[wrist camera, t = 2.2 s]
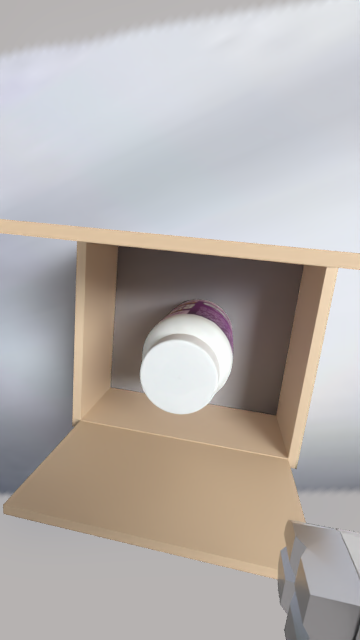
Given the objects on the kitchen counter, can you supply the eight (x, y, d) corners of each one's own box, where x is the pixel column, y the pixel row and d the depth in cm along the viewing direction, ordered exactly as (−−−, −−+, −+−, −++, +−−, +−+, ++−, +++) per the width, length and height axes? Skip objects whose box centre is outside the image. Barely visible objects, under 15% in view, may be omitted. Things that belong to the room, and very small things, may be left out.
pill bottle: (189, 284, 24) (162, 302, 15) (246, 323, 24) (256, 366, 14) (153, 339, 25) (107, 388, 16) (206, 376, 25) (192, 447, 16)
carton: (314, 257, 22) (424, 257, 9) (282, 423, 25) (334, 594, 12) (111, 237, 24) (-20, 215, 11) (103, 392, 27) (-9, 511, 14)
